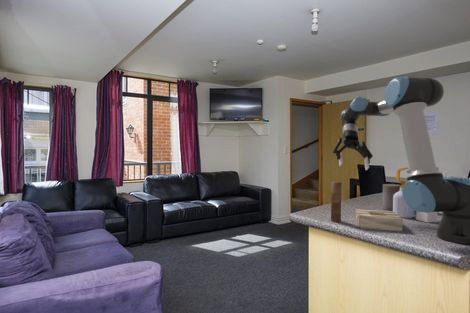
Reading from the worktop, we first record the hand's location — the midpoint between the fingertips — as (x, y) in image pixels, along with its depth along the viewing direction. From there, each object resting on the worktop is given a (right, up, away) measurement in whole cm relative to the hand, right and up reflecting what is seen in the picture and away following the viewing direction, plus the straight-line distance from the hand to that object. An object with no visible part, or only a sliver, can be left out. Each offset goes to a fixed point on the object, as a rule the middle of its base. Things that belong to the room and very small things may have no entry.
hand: (354, 166), depth 154 cm
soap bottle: (+24, -25, -1) cm, 35 cm away
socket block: (+3, -25, -19) cm, 32 cm away
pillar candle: (+27, -24, +16) cm, 40 cm away
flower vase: (+42, -25, +10) cm, 50 cm away
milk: (+30, -25, -11) cm, 41 cm away
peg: (-13, -25, -12) cm, 30 cm away
